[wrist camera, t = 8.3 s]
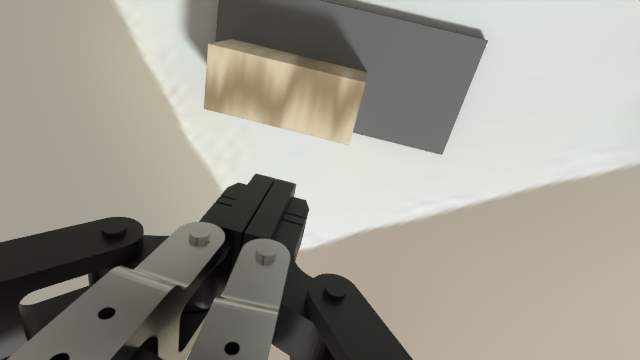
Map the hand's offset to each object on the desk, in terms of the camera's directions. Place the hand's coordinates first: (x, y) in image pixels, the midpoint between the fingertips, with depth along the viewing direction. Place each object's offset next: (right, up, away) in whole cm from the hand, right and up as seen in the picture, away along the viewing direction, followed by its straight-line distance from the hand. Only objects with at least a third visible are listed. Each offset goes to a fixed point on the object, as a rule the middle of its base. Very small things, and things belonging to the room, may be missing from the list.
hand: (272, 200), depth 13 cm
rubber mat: (+3, +11, +18) cm, 21 cm away
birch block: (+5, +7, +16) cm, 18 cm away
